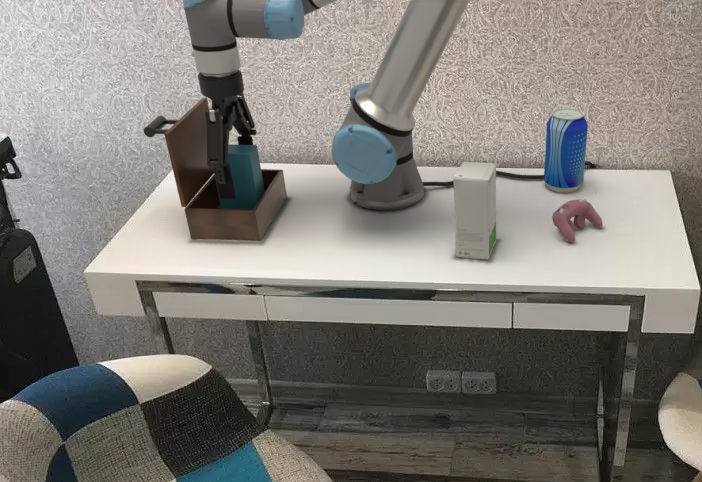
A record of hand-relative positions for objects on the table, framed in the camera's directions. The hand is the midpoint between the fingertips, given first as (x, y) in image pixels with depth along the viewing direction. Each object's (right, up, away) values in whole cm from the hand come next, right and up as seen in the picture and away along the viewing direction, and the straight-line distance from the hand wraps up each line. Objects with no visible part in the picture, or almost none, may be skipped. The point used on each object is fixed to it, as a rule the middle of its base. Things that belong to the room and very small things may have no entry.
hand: (239, 182), depth 152 cm
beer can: (+64, +3, +18) cm, 67 cm away
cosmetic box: (+46, -13, -5) cm, 48 cm away
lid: (-7, +5, -3) cm, 9 cm away
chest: (-1, -6, +5) cm, 8 cm away
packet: (0, -6, +4) cm, 7 cm away
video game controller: (+65, -9, +1) cm, 66 cm away
